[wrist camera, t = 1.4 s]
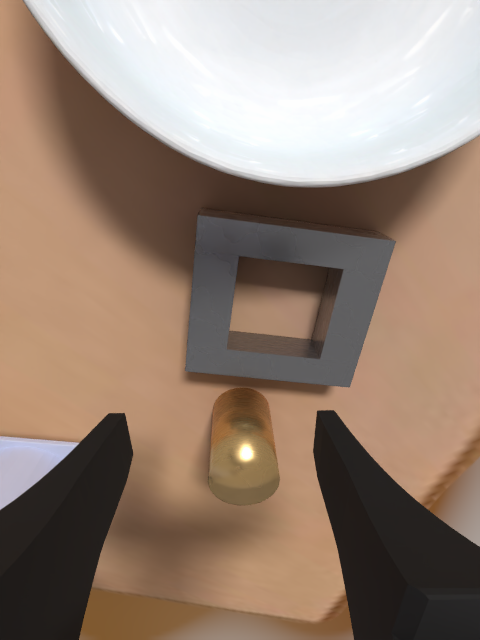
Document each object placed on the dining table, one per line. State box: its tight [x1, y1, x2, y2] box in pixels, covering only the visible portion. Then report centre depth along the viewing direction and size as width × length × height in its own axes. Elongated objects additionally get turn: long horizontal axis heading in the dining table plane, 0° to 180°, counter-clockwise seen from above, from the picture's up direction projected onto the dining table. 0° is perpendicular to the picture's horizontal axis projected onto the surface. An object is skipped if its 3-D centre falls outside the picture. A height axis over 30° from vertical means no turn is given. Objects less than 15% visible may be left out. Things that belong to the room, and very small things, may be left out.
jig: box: [185, 208, 396, 387], centre depth 21 cm, size 9×10×2 cm
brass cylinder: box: [208, 388, 280, 505], centre depth 23 cm, size 4×4×6 cm
